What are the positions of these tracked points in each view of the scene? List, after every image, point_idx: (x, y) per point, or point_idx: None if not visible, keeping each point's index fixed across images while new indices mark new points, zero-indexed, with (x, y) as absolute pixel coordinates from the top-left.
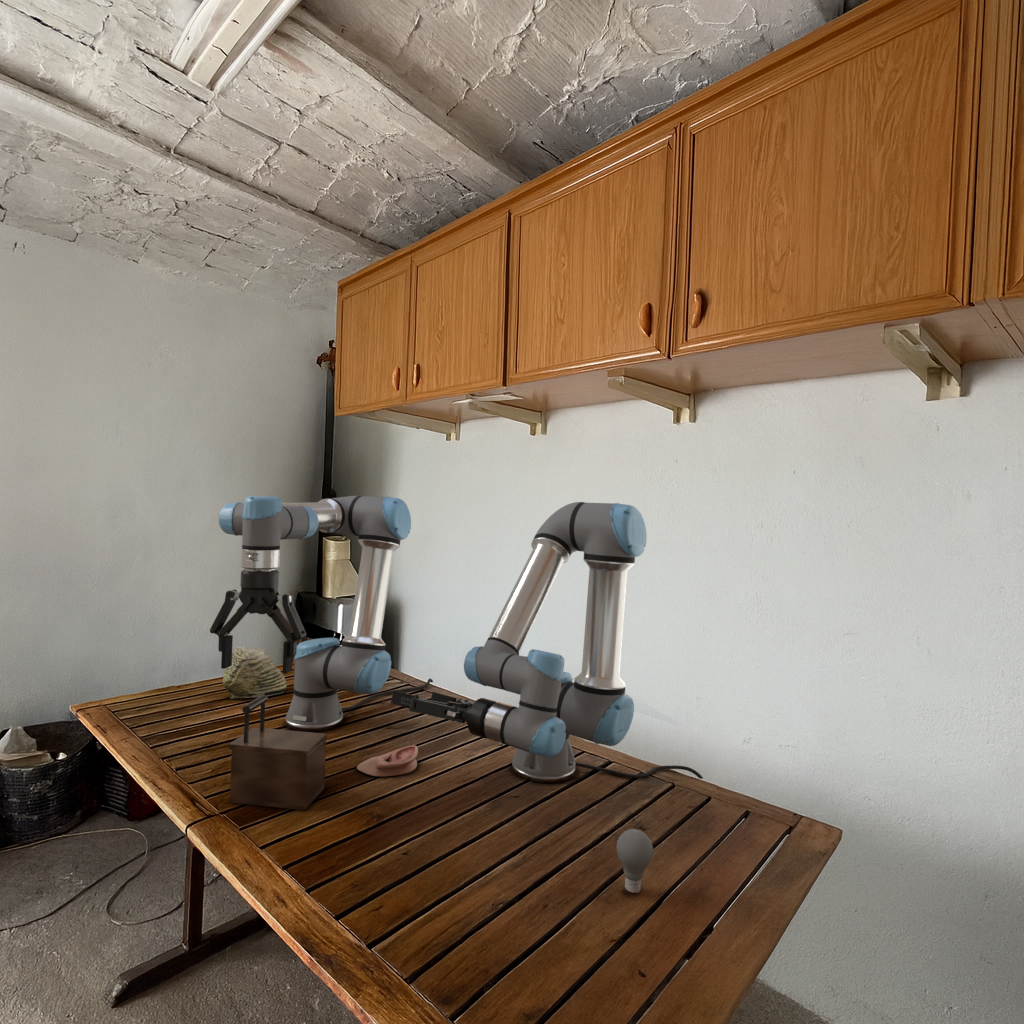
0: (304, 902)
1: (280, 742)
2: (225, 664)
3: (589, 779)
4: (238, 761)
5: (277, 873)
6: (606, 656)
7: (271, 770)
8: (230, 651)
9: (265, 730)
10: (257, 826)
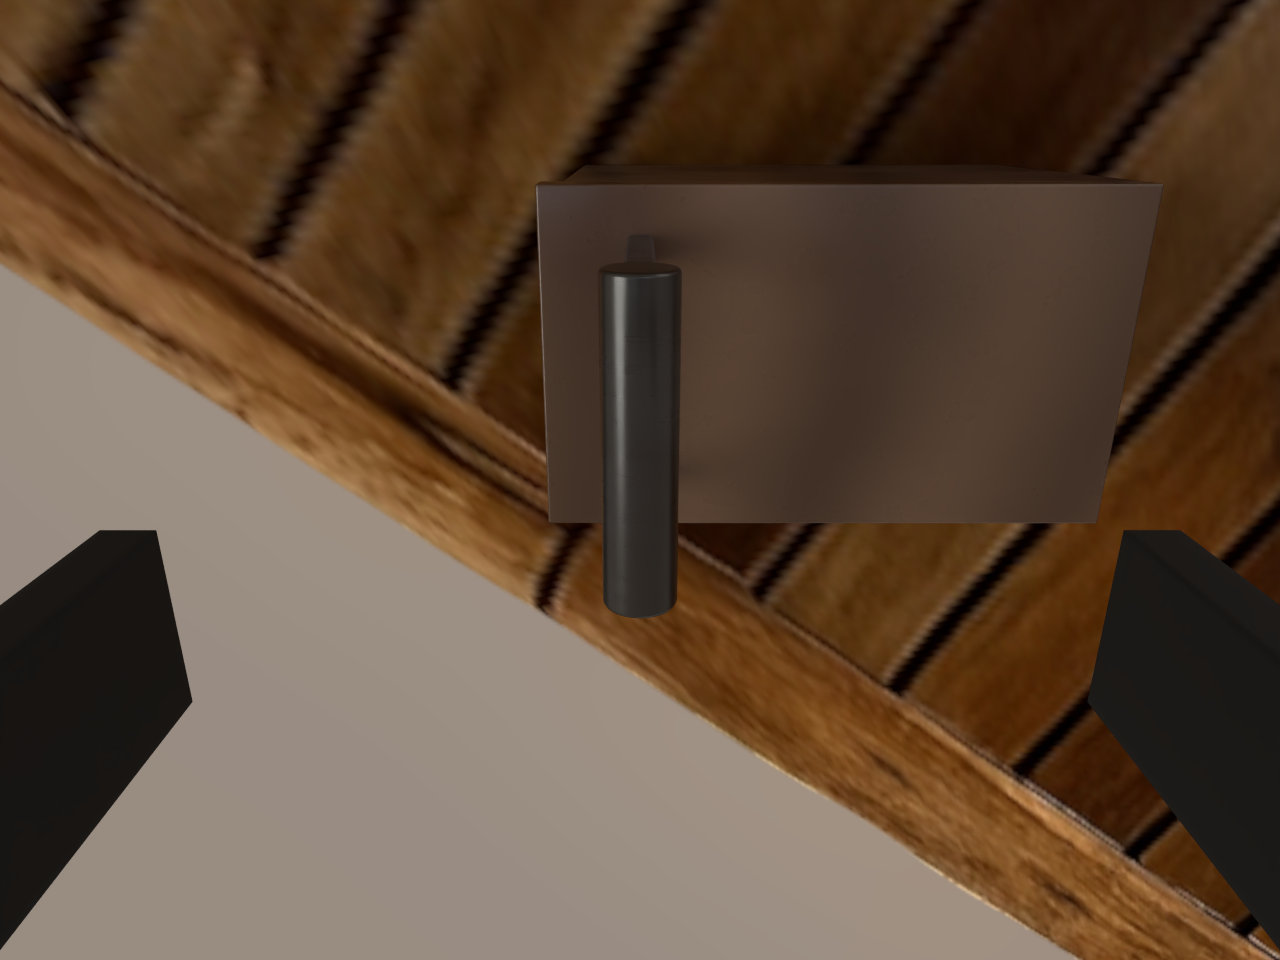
0: (1134, 895)
1: (872, 426)
2: (158, 715)
3: None
4: None
5: (1008, 800)
6: None
7: None
8: (18, 719)
9: (661, 231)
10: (814, 564)
